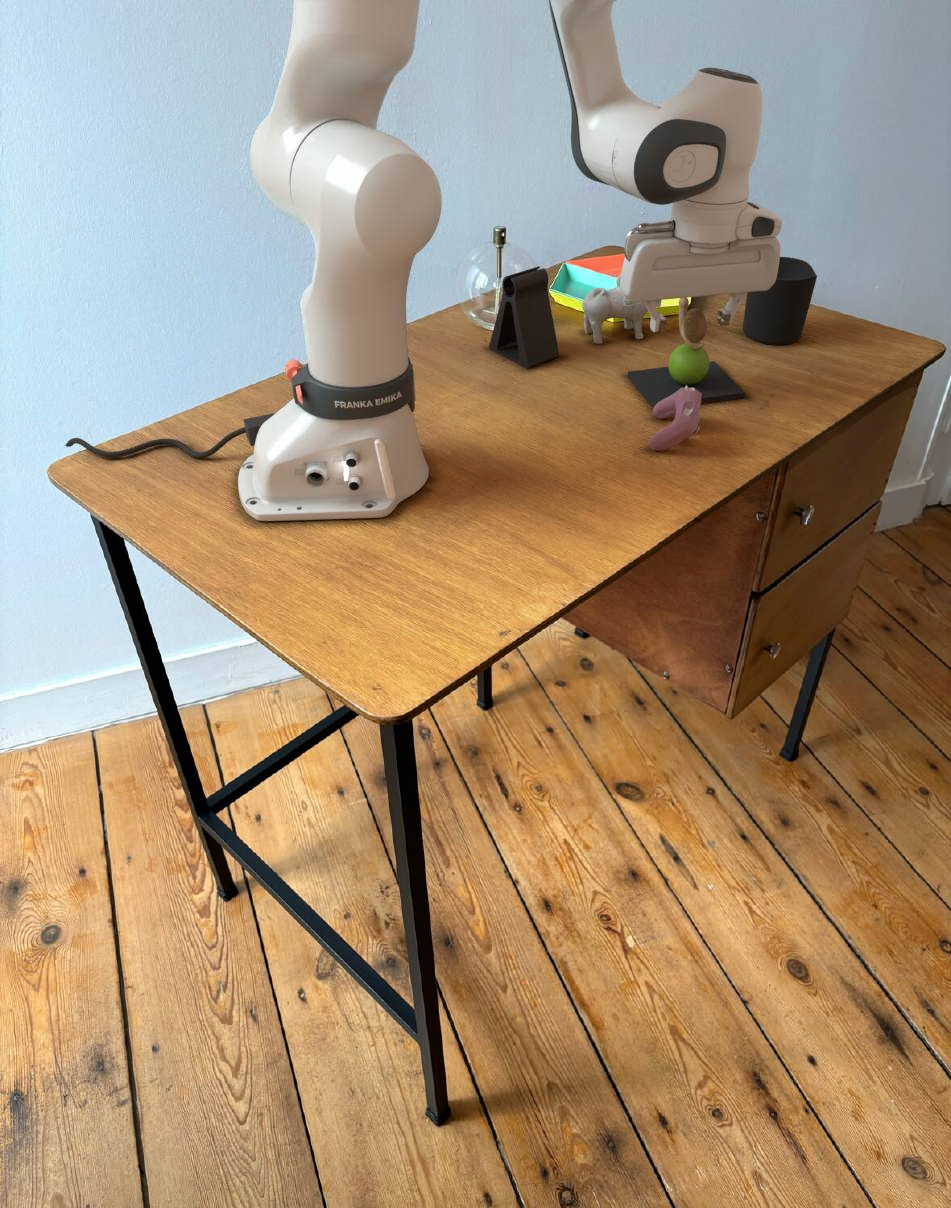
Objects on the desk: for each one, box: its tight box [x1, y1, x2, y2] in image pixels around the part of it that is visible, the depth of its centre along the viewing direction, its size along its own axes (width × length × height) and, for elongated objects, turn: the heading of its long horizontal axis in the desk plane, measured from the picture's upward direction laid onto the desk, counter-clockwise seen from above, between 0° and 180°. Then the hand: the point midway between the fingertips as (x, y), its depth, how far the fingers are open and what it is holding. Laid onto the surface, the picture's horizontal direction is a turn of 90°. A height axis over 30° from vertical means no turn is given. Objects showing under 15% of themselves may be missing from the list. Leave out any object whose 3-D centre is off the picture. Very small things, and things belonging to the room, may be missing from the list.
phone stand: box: [488, 265, 560, 369], centre depth 137 cm, size 9×6×12 cm, turn 37°
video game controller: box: [648, 385, 702, 452], centre depth 120 cm, size 10×5×7 cm, turn 168°
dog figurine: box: [581, 273, 649, 345], centre depth 142 cm, size 5×13×11 cm, turn 106°
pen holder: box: [742, 256, 818, 346], centre depth 141 cm, size 9×9×10 cm
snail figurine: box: [667, 297, 711, 385], centre depth 127 cm, size 5×6×12 cm
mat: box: [627, 360, 746, 409], centre depth 131 cm, size 13×10×1 cm
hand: (691, 327), depth 126 cm, fingers open, 8 cm apart
